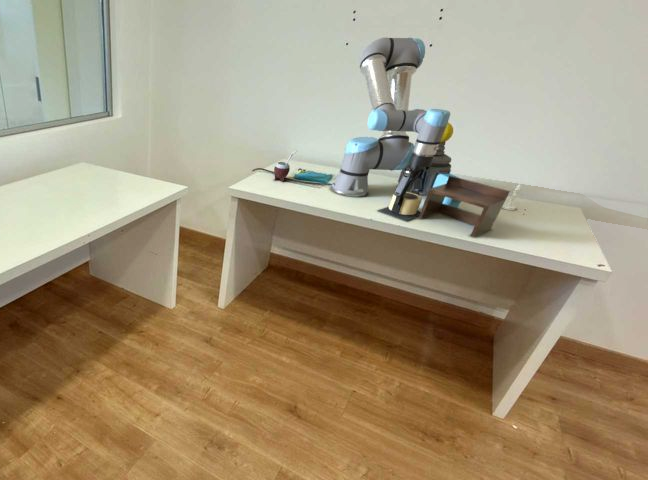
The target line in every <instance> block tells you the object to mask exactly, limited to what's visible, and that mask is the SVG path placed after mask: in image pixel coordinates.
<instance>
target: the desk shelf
mask: <svg viewBox="0 0 648 480" xmlns="http://www.w3.org/2000/svg"><path fill="white" fill-rule="evenodd" d="M454 176H455V175H454ZM454 176H449V178H448V181H447V183H446V184H443V185H440V186H437V187H434V188H431V189H430V190H429V192H428V195H427V196H426V198H425V200H424V202H423V205H422V208H421V210H420V215H419V217H417V218H418V219H420V220H422V219H425V218H428V217H430V216H433V215H436V214H439V215H443V216H446V217H448V218H450V219H454V220H457V221H461V222H463V223H467V224H470V225H473V226H474V227H473V228H472V231H471V233H470V235H469V236H470V237H472V238H475V237H478V236H480V235H481V234H484V233H486V232H488V231H490V230H492V228H493V226H494V224H495V222H496V220H497V217H498V216H499V214H500V211H501V210H502V209H503V208H502V206H503V204H505V203H506V200H507V198H508V196H509V194H510V193H511V190H507V189H505V188H501V187H497V186H492V185H489V184H485V183H481V182H477V181H474V180H469V179H465V178H461V177H459V176H457V177H454ZM458 177H459V178H458ZM445 197H448V198H452V199H455V200H458V201H461V203H465V204H469V205H472V206H476V207H478V208H479V207H480V208H482V211H481V212H480V214H478V213H475V212H472V211H469V210H465V209H463V208H459V207H458V208H456V207H453V206H450V205H446V204H443V201H444V198H445Z"/></svg>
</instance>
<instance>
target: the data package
mask: <svg viewBox="0 0 648 480" xmlns="http://www.w3.org/2000/svg"><path fill="white" fill-rule="evenodd" d="M449 176H454V177H458V178H460V177H459V176H456V175H454V174H452V173H450V174H439V175H438V176H437V178H436V180H435V183H434V185H433V188H434V187H437V186H440V185H443V184H446V183H447V181H448V178H449ZM461 203H462V201H458V200H455V199H452V198H448V197H445V198H444V201H443V204H446V205H450V206H453V207H456V208H459V207H460V204H461Z"/></svg>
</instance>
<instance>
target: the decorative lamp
mask: <svg viewBox="0 0 648 480" xmlns="http://www.w3.org/2000/svg"><path fill="white" fill-rule="evenodd" d="M453 134H454V127H453V125H452V124H451V123H450V122H448V124H447V126H446V129H445V131H444V134H443V136H442V139H441V141H440V143H439V146H438V148H439V149H438V150H437V151H436V153H435V155H433V156H434V159H433V162H432V164H431V166H430V169H429V172H428V175H427V179H426V183H425V188H424V189H423V192H422V193H421V192H420V193H419V196H426V197H427V195H428V192H429V190H430V189H431V188H433V185H434V183H435V180H436V178H437V176H438V175H439V174H451V171H452V164H451V162H452V157H451V156H449V155H447V154H446V153H445V150H446V146H445V145H446V142H447V141H449V140H450V139H451V138H452V137H453ZM411 166H412V165H411V164H410V163H409V164H408V165H407V166H406V167H405V168H404V169H402V170H400V171H401V172H400V174H399V177H398V180H397V186H398V185H399V183H400V181H401V179H402V177H403V174H404V171H405V170H409V169H410V168H411ZM412 191H415V190H414V182H412V184H411V186H410V187H409V189H408V190H407V192H410V193H411V192H412Z"/></svg>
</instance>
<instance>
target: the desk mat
mask: <svg viewBox="0 0 648 480" xmlns="http://www.w3.org/2000/svg"><path fill="white" fill-rule="evenodd" d="M377 212H379V213H381V214H385V215H388V216H390V217H393V218H395V219H398V220H401V221H404V222H409V221H412V220H414V219H416V218H418V217H419V215H420V212H421V210H420V211H419V210H417V213H416V214H414V215H404V214H399V213H395V212H392V211H391V210H390V209H389V206H387V207H384V208H381V209H378V210H377Z"/></svg>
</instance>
